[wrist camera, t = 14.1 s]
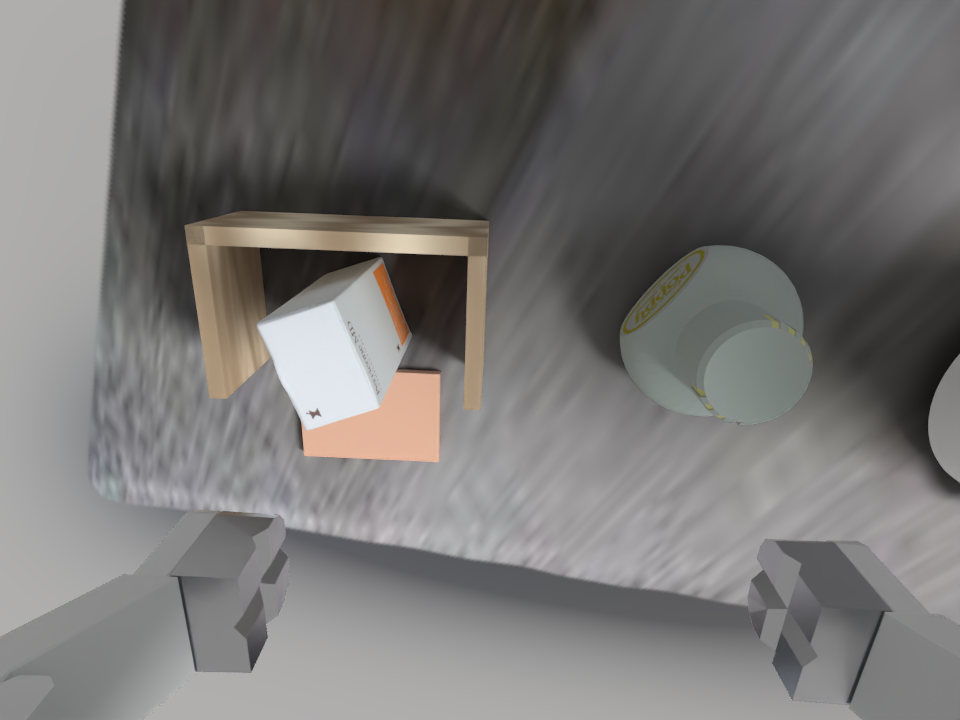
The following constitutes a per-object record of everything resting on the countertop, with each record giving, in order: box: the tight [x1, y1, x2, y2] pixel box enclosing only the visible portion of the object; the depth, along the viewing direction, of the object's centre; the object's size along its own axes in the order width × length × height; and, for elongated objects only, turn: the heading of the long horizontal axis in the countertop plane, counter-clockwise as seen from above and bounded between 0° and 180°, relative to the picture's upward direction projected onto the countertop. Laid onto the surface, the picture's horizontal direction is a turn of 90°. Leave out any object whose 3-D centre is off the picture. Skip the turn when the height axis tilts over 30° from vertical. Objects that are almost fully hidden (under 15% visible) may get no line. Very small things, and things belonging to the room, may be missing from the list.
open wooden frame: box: [184, 211, 489, 410], centre depth 35 cm, size 16×10×7 cm, turn 88°
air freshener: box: [620, 245, 813, 425], centre depth 34 cm, size 11×8×10 cm
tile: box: [301, 369, 441, 462], centre depth 41 cm, size 10×7×1 cm
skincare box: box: [256, 257, 412, 431], centre depth 33 cm, size 6×4×12 cm
